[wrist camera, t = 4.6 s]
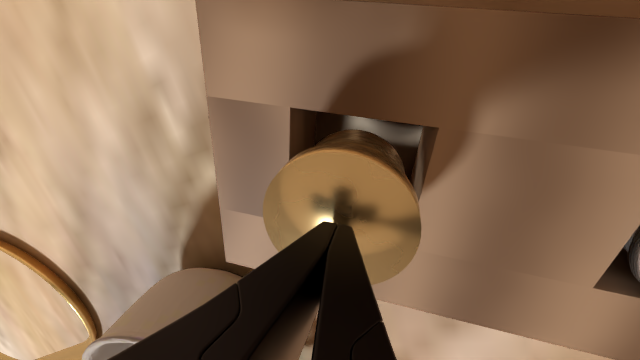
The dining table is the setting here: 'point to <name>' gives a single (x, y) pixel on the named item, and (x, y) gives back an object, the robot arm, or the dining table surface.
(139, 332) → the teacup
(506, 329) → the walnut block
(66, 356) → the gold ring
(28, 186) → the dining table surface
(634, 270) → the grey plug
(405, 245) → the brass plug
